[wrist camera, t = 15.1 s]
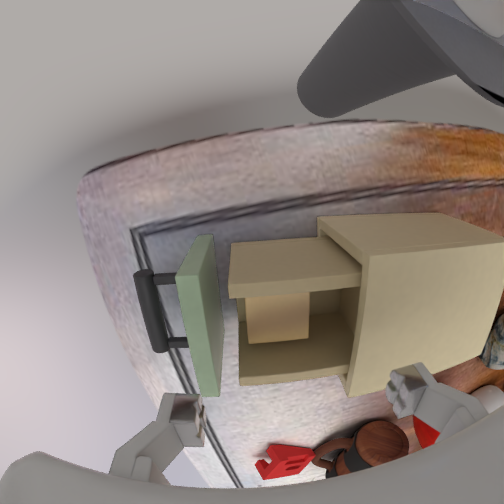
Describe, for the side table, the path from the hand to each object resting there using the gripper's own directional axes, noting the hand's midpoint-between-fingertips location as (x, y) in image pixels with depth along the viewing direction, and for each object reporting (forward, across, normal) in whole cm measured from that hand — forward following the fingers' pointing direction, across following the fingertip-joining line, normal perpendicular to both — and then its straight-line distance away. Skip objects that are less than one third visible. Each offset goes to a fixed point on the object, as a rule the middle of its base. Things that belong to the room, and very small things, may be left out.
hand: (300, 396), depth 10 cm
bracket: (+10, -2, +28) cm, 30 cm away
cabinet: (+13, -10, 0) cm, 17 cm away
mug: (+9, -13, +22) cm, 27 cm away
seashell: (+13, -34, +13) cm, 39 cm away
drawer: (+12, +1, 0) cm, 12 cm away
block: (+11, 0, 0) cm, 11 cm away
